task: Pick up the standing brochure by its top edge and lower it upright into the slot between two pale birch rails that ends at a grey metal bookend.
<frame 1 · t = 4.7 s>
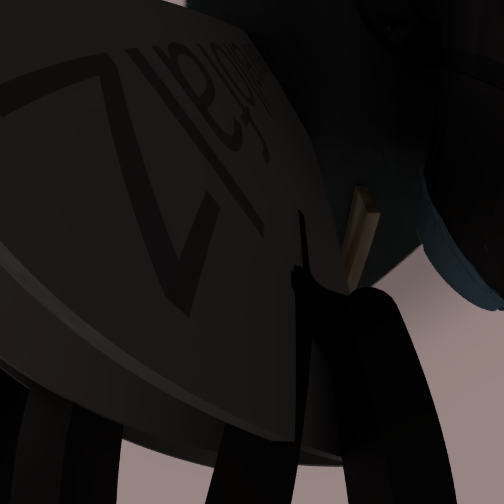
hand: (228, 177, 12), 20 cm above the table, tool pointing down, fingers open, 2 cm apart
slot rails: (293, 239, 39), on the table
brochure: (256, 96, 27), on the table, touching hand
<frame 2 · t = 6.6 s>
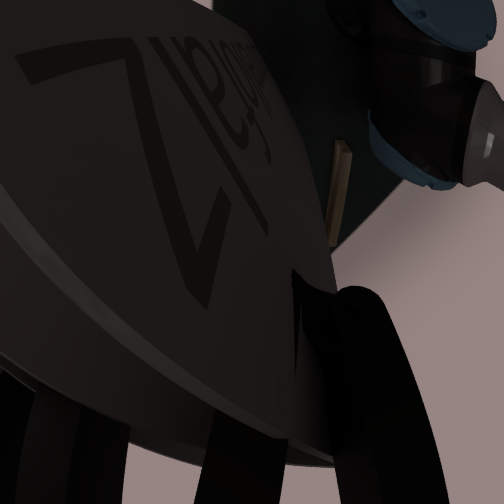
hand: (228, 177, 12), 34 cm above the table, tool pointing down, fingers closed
slot rails: (291, 184, 50), on the table
brochure: (254, 97, 27), point 15 cm above the table, touching hand
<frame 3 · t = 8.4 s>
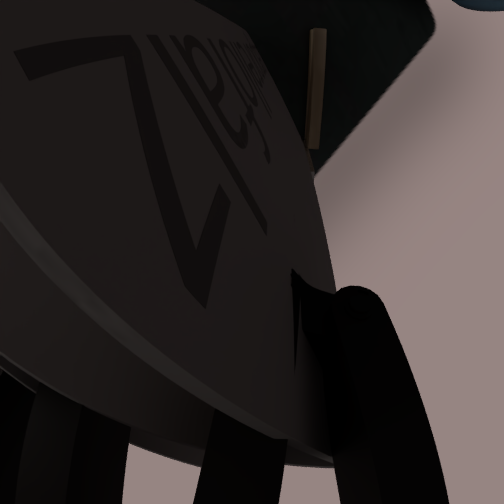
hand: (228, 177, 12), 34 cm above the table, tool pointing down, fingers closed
slot rails: (261, 81, 38), on the table
brochure: (253, 97, 27), point 15 cm above the table, touching hand
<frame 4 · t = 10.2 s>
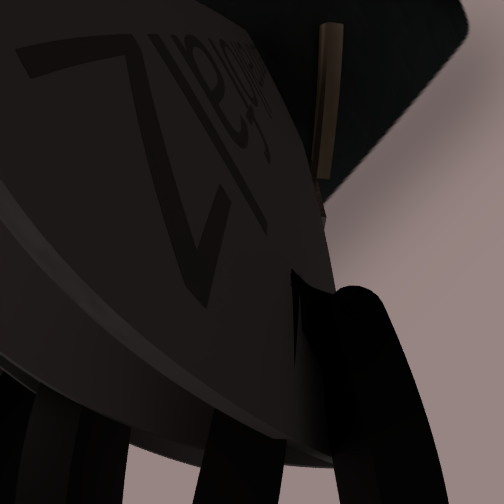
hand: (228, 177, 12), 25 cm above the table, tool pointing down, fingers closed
bookend: (258, 160, 37), on the table
slot rails: (258, 90, 31), on the table
brochure: (253, 97, 27), point 5 cm above the table, touching hand
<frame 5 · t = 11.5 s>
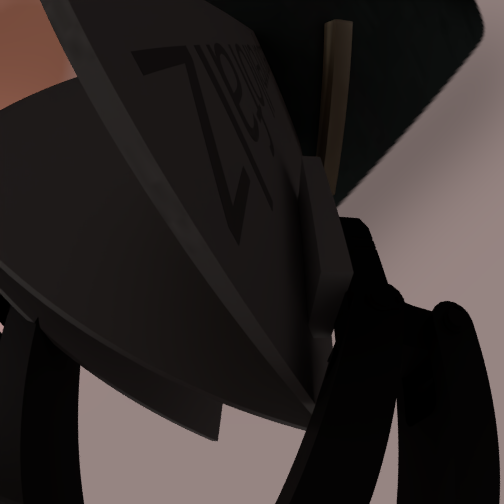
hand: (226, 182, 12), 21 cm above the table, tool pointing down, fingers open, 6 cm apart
slot rails: (257, 94, 28), on the table
brochure: (255, 95, 28), on the table
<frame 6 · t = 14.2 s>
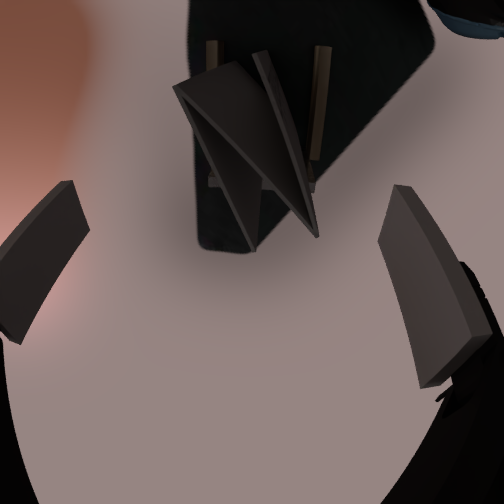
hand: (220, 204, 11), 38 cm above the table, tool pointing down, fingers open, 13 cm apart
bookend: (264, 147, 47), on the table
slot rails: (267, 93, 41), on the table
brochure: (265, 93, 41), on the table
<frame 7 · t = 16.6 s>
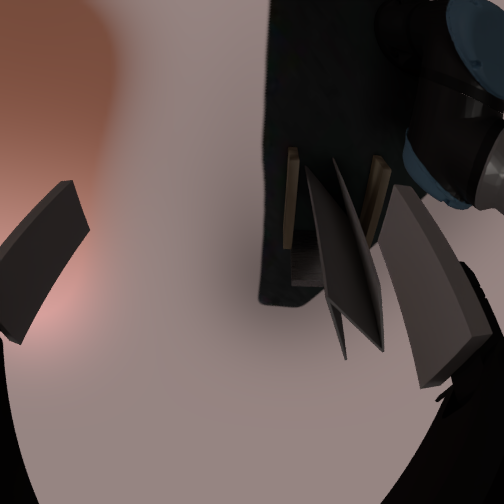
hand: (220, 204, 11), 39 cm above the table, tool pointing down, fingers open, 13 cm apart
bookend: (323, 234, 59), on the table
slot rails: (330, 194, 53), on the table
brochure: (328, 193, 53), on the table
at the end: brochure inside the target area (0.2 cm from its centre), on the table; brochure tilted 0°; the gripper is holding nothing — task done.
